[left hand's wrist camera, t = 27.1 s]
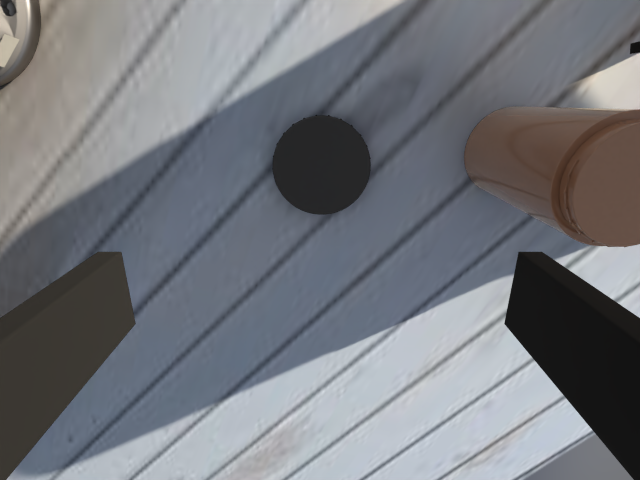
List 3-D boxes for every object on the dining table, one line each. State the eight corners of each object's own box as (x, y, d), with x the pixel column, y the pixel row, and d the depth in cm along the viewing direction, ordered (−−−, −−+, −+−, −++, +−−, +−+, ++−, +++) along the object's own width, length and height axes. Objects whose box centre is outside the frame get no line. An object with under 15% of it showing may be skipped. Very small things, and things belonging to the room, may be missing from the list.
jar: (450, 181, 39) (538, 235, 23) (485, 95, 36) (611, 90, 20) (527, 203, 40) (661, 268, 24) (566, 120, 37) (748, 134, 21)
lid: (388, 168, 39) (391, 171, 37) (318, 228, 41) (318, 233, 39) (325, 92, 36) (325, 92, 35) (254, 161, 38) (251, 164, 37)
